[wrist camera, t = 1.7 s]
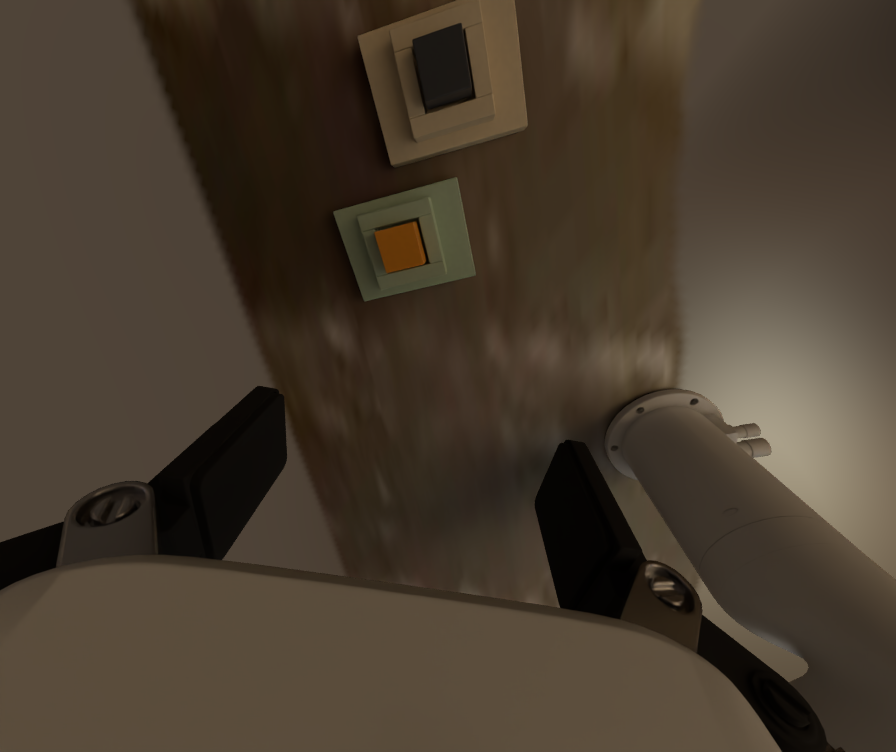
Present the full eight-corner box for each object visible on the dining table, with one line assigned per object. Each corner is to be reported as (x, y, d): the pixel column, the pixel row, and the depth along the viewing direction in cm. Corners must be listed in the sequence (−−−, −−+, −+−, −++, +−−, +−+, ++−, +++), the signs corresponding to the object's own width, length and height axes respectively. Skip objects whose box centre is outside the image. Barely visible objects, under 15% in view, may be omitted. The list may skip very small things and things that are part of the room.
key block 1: (509, -6, 23) (516, -39, 20) (524, 130, 27) (532, 119, 23) (363, 46, 25) (348, 22, 22) (395, 168, 28) (386, 162, 25)
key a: (462, 37, 22) (461, 21, 20) (471, 96, 23) (472, 86, 22) (416, 53, 23) (411, 38, 21) (428, 110, 24) (424, 101, 22)
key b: (416, 221, 27) (412, 221, 25) (426, 260, 29) (423, 264, 27) (380, 230, 28) (373, 232, 26) (391, 269, 29) (386, 273, 27)
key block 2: (457, 178, 28) (456, 174, 25) (475, 272, 32) (476, 279, 29) (339, 211, 30) (324, 211, 27) (368, 297, 33) (358, 306, 30)
